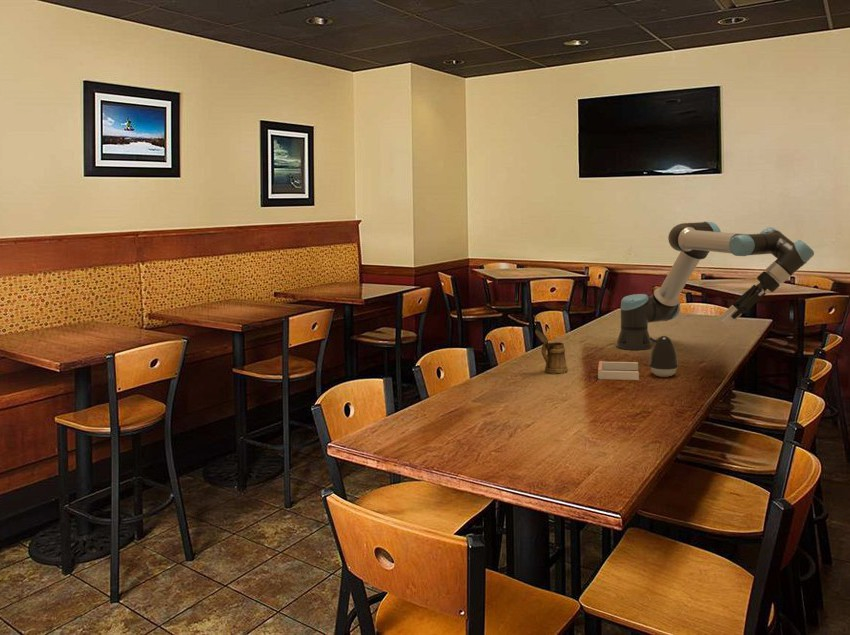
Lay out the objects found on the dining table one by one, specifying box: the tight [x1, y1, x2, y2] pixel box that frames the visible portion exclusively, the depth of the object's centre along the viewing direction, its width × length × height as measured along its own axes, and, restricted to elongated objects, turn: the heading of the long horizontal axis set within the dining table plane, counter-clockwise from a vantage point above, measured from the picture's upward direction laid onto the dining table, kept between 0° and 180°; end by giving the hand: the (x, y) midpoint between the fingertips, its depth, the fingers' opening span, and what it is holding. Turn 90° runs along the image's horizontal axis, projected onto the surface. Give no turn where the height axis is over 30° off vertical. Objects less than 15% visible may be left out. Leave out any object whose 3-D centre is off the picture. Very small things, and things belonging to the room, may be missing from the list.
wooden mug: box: [534, 328, 569, 374], centre depth 282 cm, size 9×14×18 cm, turn 112°
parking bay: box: [597, 360, 640, 381], centre depth 276 cm, size 16×15×3 cm
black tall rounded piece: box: [649, 335, 679, 378], centre depth 270 cm, size 10×10×15 cm
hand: (723, 321), depth 263 cm, fingers open, 8 cm apart
